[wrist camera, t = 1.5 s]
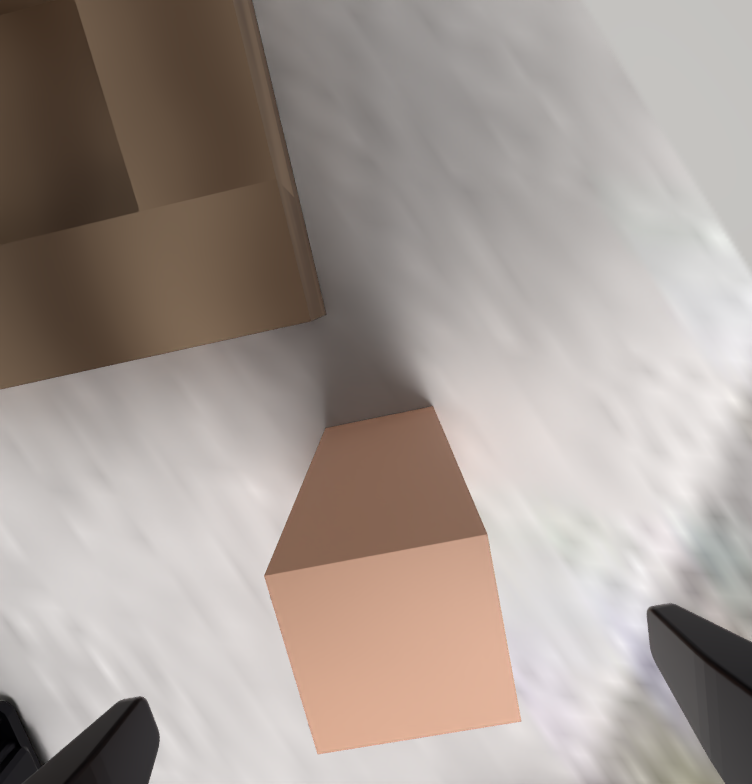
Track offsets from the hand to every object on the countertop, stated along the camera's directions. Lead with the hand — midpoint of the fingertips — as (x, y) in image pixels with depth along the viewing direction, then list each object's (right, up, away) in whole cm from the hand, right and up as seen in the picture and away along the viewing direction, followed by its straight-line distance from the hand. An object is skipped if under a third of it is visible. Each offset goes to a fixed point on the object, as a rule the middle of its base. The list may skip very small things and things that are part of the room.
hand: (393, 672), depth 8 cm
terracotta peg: (0, +2, +9) cm, 9 cm away
